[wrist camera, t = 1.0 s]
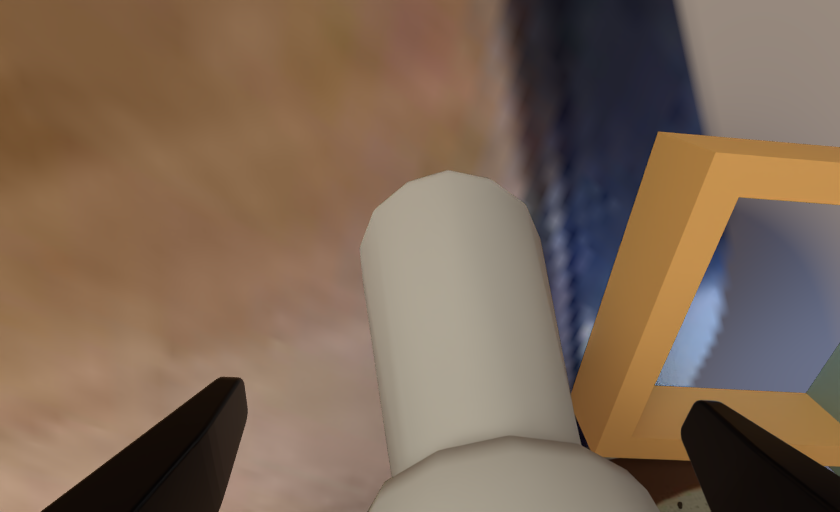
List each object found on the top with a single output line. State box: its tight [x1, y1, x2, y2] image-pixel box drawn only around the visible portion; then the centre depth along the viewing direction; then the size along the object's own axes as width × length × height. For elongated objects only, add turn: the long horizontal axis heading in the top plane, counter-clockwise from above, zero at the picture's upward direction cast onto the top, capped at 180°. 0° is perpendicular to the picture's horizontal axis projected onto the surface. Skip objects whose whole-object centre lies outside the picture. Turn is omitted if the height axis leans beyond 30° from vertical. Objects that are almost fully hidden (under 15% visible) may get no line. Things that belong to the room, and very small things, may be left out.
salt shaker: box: [360, 170, 660, 512], centre depth 10 cm, size 6×6×13 cm
